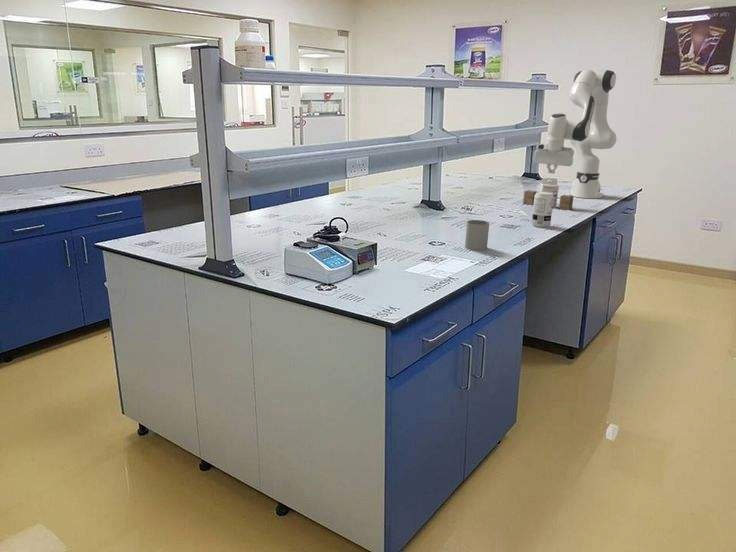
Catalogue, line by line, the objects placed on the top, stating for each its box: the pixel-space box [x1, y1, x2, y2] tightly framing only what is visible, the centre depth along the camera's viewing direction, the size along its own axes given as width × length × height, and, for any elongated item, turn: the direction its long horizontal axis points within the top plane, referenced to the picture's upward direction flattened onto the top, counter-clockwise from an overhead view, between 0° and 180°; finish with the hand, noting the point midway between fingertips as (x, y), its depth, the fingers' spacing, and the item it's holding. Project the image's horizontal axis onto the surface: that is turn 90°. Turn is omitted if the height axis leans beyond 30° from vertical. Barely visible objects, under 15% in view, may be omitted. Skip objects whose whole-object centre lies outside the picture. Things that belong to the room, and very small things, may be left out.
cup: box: [464, 219, 490, 252], centre depth 217 cm, size 8×8×10 cm
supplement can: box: [531, 191, 554, 229], centre depth 257 cm, size 8×8×15 cm
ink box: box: [539, 177, 559, 208], centre depth 303 cm, size 9×5×15 cm, turn 84°
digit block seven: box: [522, 189, 538, 206], centre depth 310 cm, size 5×5×7 cm
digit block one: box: [558, 194, 575, 211], centre depth 298 cm, size 5×5×7 cm
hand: (551, 173), depth 299 cm, fingers closed
